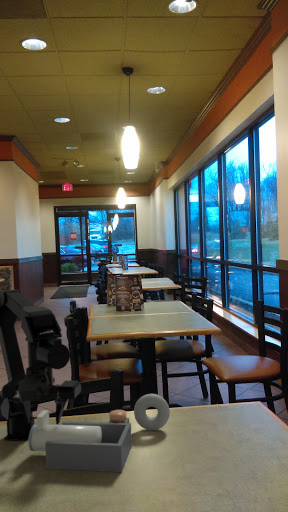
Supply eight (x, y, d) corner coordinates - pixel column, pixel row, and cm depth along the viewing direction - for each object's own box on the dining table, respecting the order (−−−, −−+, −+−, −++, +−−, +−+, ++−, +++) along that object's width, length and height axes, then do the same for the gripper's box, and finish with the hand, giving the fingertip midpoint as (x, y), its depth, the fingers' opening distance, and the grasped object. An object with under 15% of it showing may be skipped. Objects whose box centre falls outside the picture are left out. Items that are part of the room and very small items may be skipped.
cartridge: (29, 455, 100) (27, 418, 100) (39, 443, 106) (37, 408, 106) (95, 458, 97) (94, 420, 97) (102, 445, 103) (100, 409, 103)
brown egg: (108, 437, 107) (107, 416, 107) (112, 429, 111) (111, 409, 111) (125, 437, 106) (124, 416, 106) (128, 430, 111) (127, 409, 110)
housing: (46, 468, 96) (45, 442, 96) (70, 434, 113) (70, 412, 113) (122, 472, 93) (121, 445, 93) (135, 436, 111) (134, 414, 111)
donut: (170, 427, 116) (169, 391, 116) (170, 432, 112) (169, 396, 112) (135, 427, 117) (133, 392, 116) (133, 432, 113) (132, 396, 113)
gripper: (-12, 370, 96) (-9, 437, 96) (65, 371, 93) (68, 439, 93) (10, 357, 107) (13, 417, 107) (80, 357, 104) (83, 419, 104)
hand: (43, 423), depth 102 cm, fingers open, 7 cm apart
